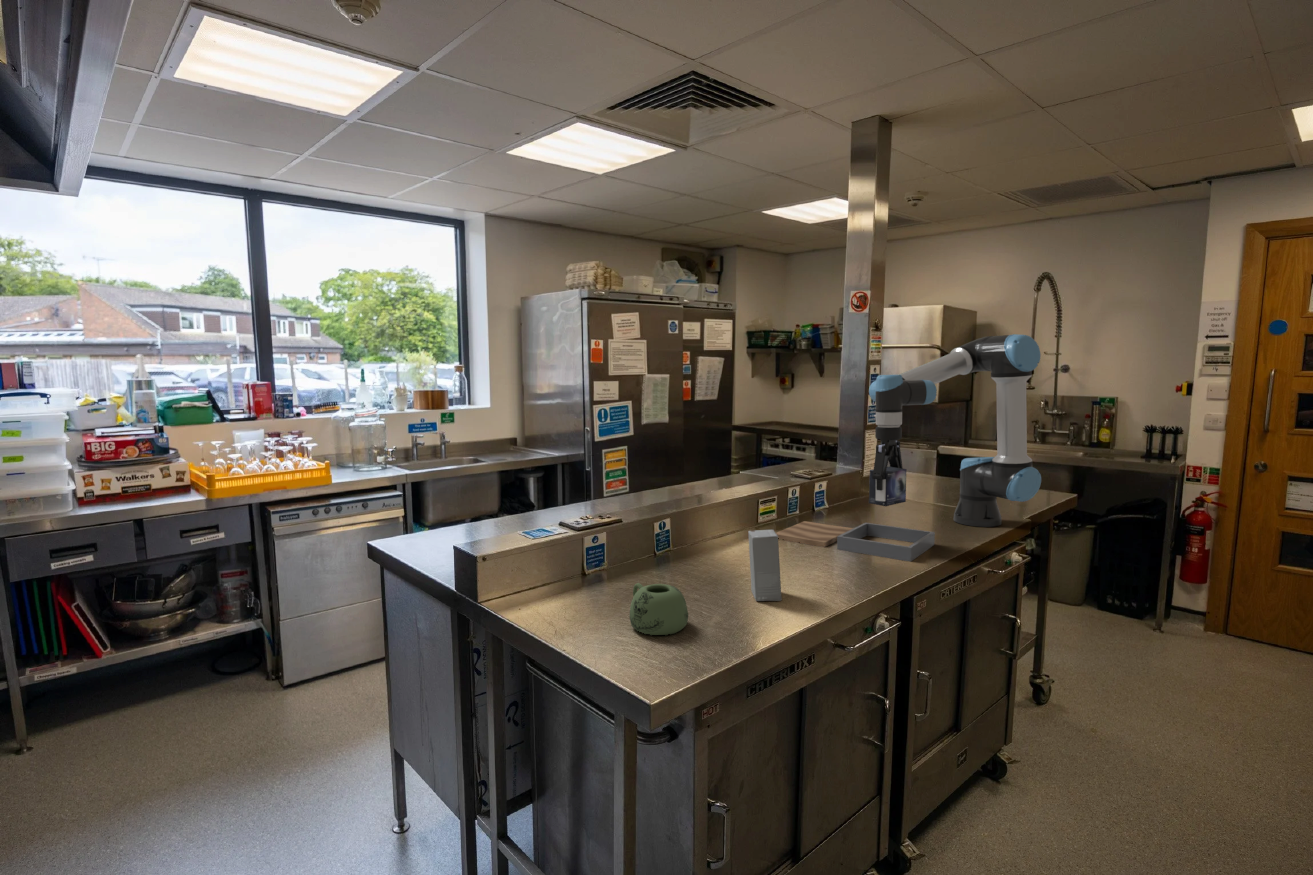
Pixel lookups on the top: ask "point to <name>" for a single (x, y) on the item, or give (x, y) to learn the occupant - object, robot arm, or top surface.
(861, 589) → the top surface
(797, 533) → the walnut board
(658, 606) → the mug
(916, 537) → the bin
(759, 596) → the skincare box
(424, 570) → the top surface
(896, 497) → the small box
